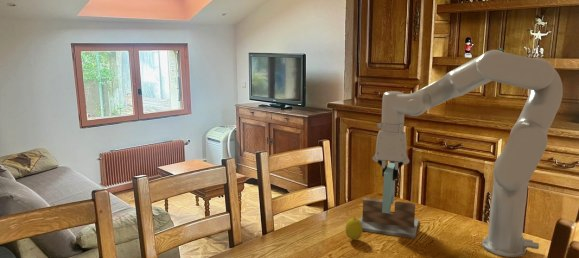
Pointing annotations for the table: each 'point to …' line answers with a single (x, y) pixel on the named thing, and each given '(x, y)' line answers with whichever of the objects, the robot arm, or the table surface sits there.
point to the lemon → (353, 228)
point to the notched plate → (388, 188)
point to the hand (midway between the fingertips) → (389, 178)
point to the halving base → (390, 229)
